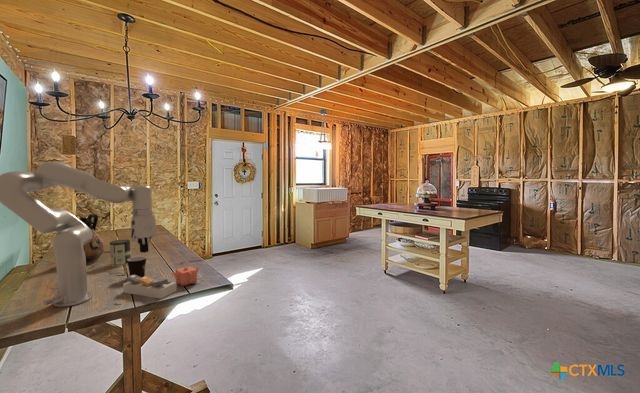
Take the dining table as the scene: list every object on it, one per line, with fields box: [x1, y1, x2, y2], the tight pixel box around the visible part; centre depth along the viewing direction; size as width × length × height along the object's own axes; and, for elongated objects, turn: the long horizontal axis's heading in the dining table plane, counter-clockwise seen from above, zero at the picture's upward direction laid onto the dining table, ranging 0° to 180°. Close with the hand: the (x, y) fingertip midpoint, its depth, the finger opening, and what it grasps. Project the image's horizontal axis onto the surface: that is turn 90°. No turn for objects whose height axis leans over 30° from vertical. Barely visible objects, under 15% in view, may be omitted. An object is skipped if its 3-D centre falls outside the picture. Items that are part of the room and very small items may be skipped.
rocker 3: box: [150, 278, 168, 286], centre depth 128 cm, size 4×6×2 cm, turn 74°
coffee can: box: [109, 239, 132, 267], centre depth 172 cm, size 10×10×14 cm
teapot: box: [170, 265, 201, 287], centre depth 142 cm, size 12×15×8 cm
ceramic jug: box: [78, 213, 105, 265], centre depth 176 cm, size 17×15×30 cm
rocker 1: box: [126, 274, 142, 284], centre depth 132 cm, size 4×6×2 cm, turn 74°
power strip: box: [122, 278, 178, 299], centre depth 132 cm, size 9×27×4 cm, turn 74°
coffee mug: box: [127, 256, 147, 277], centre depth 151 cm, size 12×9×10 cm
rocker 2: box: [138, 275, 157, 286], centre depth 130 cm, size 4×6×2 cm, turn 74°
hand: (144, 251), depth 129 cm, fingers closed
